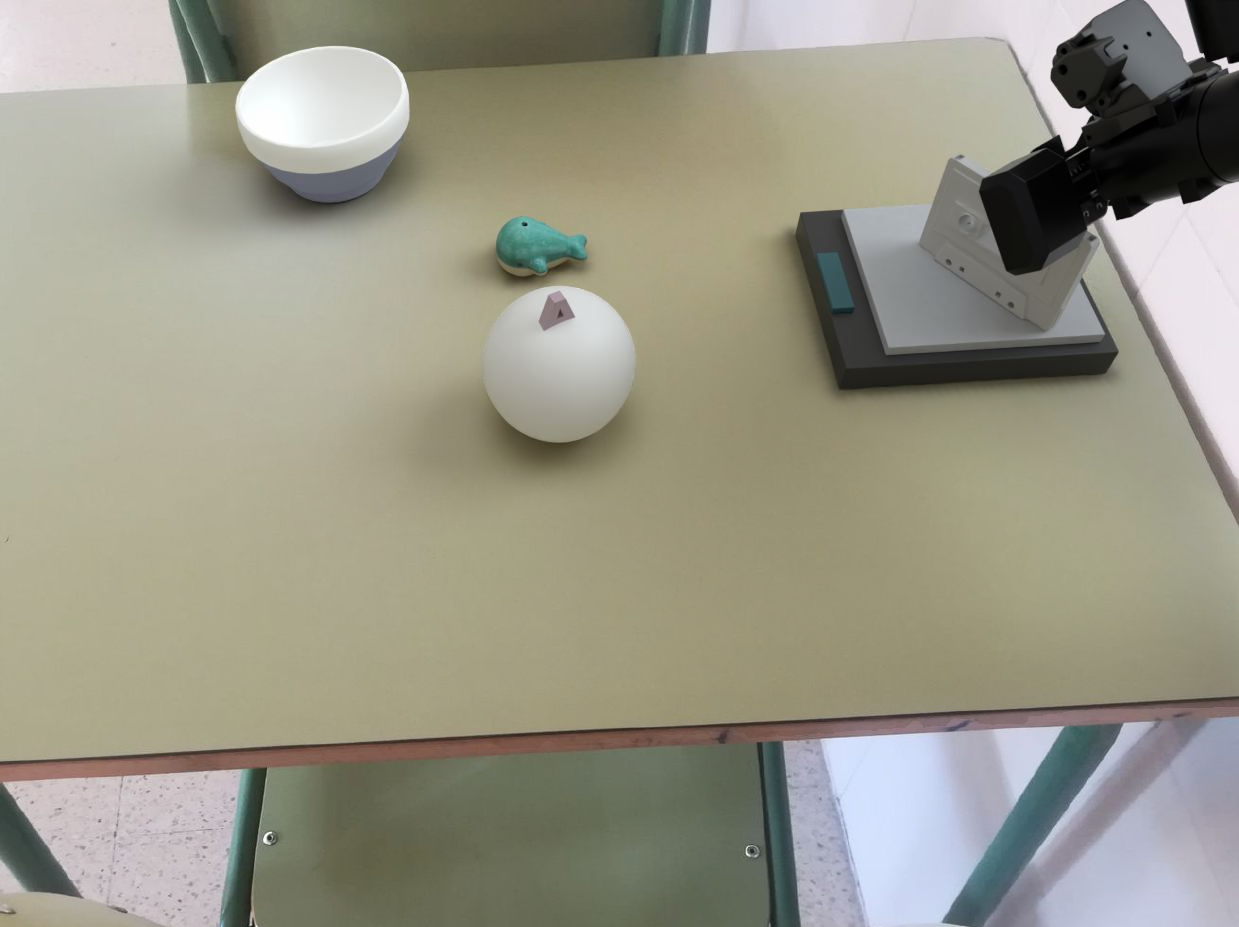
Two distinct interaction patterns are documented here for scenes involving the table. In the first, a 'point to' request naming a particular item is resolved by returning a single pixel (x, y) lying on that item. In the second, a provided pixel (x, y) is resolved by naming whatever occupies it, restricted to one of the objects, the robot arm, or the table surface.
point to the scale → (928, 310)
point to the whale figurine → (536, 247)
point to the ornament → (559, 363)
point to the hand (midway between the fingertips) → (999, 197)
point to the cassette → (996, 250)
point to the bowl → (325, 120)
